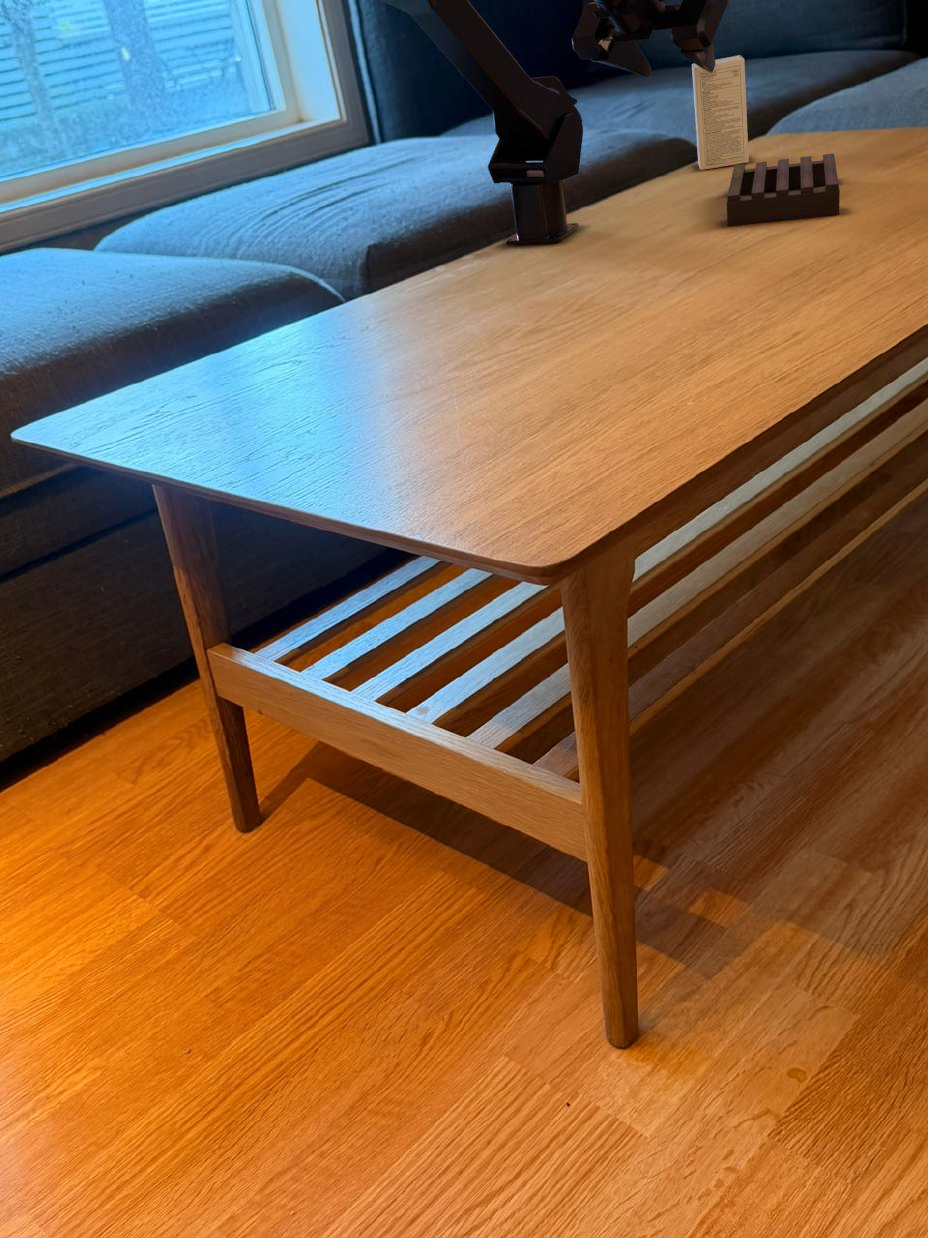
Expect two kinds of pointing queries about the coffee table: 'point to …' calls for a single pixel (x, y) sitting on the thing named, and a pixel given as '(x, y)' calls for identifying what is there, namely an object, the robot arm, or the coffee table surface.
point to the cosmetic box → (721, 113)
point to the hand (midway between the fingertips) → (680, 70)
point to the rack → (783, 191)
